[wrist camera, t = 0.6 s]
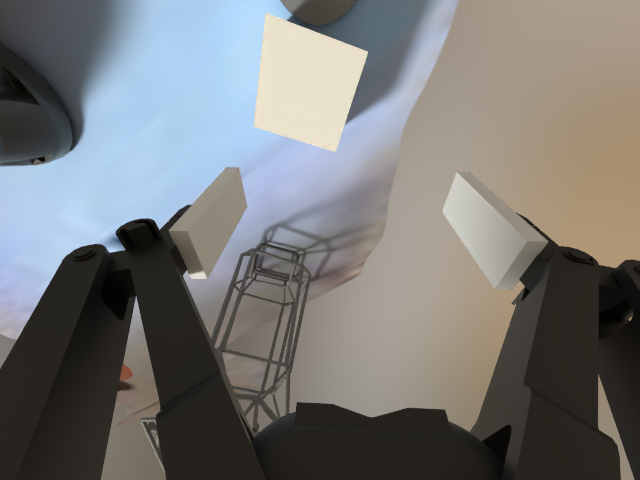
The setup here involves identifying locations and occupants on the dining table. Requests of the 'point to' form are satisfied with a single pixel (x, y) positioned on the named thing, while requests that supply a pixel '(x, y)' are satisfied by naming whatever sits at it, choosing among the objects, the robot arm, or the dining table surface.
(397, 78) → the dining table surface
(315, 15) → the coaster
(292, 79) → the cream cube
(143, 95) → the dining table surface
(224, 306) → the geometric lantern
